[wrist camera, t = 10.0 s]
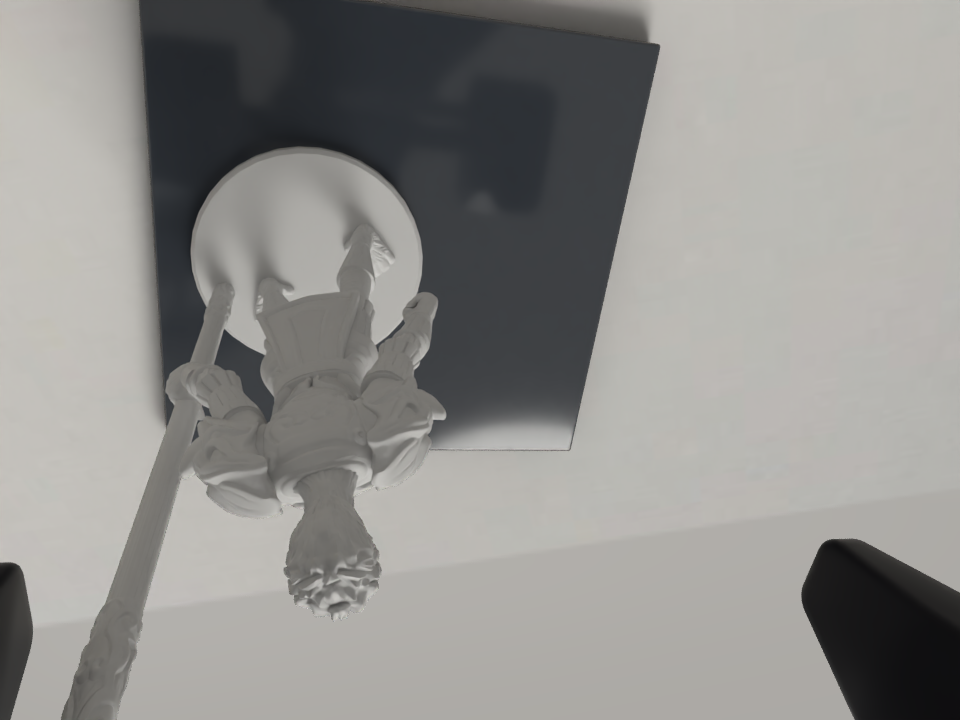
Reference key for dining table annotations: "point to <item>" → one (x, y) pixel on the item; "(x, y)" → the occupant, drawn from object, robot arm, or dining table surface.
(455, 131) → the slate tile
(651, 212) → the dining table surface
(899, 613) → the robot arm
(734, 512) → the dining table surface
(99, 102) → the dining table surface
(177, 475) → the figurine
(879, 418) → the dining table surface
